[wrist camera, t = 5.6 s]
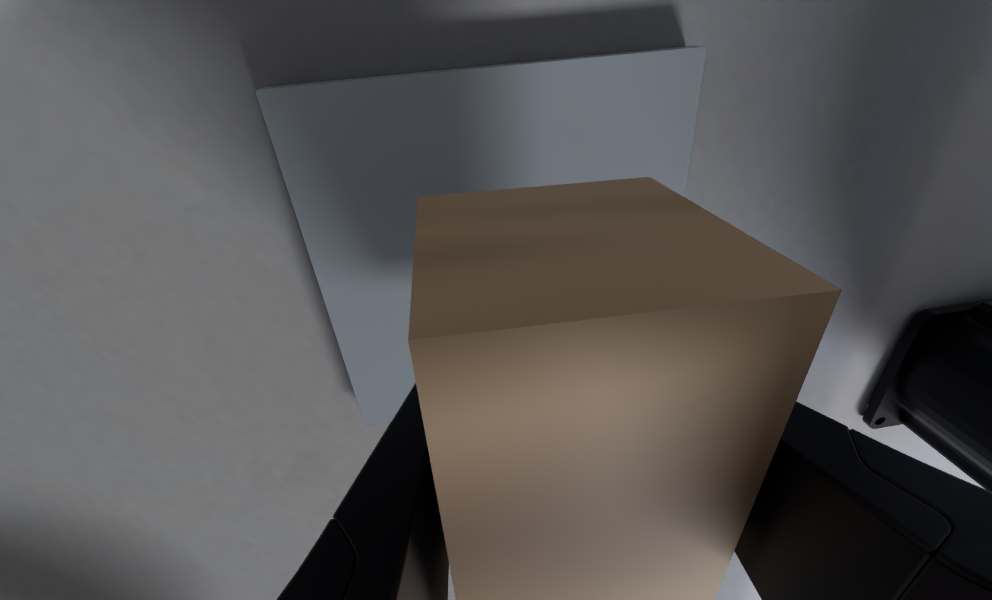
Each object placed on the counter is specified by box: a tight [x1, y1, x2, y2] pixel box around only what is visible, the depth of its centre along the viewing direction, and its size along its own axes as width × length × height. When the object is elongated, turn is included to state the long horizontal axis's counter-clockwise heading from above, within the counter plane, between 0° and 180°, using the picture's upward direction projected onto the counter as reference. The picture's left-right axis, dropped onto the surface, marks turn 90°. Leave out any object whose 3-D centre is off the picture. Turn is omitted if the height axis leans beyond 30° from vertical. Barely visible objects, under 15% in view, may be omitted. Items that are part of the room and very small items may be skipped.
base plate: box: [255, 46, 707, 426], centre depth 14 cm, size 11×11×1 cm
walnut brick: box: [408, 177, 841, 600], centre depth 8 cm, size 7×4×4 cm, turn 3°
